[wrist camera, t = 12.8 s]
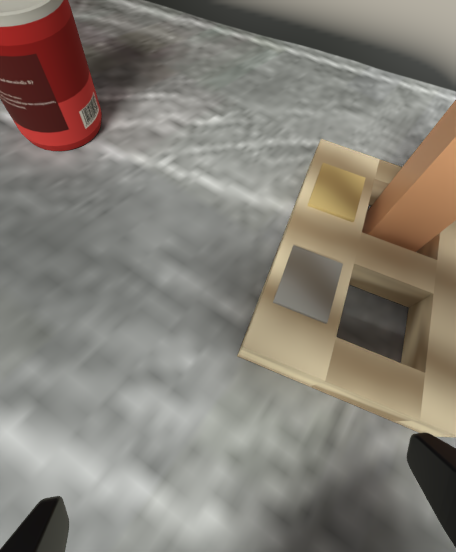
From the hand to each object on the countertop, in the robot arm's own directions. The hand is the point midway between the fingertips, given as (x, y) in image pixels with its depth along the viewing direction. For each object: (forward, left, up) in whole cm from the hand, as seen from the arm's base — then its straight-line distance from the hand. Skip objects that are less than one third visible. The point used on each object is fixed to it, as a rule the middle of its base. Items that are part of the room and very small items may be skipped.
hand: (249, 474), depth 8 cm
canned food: (+32, -2, -14) cm, 35 cm away
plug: (+6, -21, -14) cm, 26 cm away
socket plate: (+4, -17, -14) cm, 22 cm away
